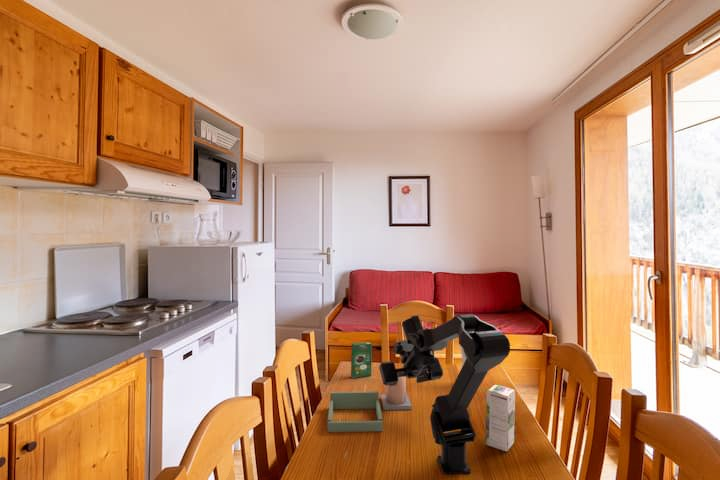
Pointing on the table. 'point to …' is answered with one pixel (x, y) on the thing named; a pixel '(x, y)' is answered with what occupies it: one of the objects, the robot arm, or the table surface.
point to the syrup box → (500, 417)
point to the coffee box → (361, 359)
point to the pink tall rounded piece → (397, 392)
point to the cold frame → (354, 402)
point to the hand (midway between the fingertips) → (403, 383)
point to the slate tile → (389, 406)
